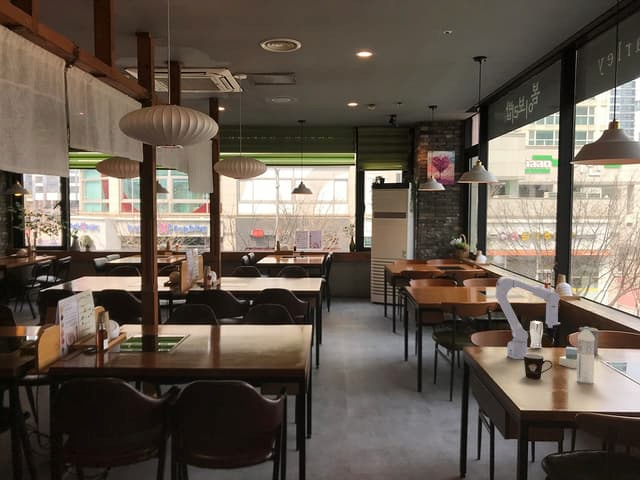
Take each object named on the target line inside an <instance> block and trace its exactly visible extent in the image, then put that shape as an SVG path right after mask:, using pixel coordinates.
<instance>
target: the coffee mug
mask: <svg viewBox="0 0 640 480" xmlns="http://www.w3.org/2000/svg"><path fill="white" fill-rule="evenodd" d="M523 360H524V361H523V362H524V363H523V364H524V371H525V372H524V373H525V378H527V379H529V380H536V381H537V380H541V378H542V375H543V373H545V372H547V371H549V370H551V369H552V368H553V362H552V361H551V360H548V359H547V360H544V356H543V355H542V354H541V355H540V354H537V353H536V354H534V353H527V354H525V355H524V359H523ZM547 362H548V363H550V366H549V368H546V369H544V370H543V365H544V364H545V363H547Z"/></svg>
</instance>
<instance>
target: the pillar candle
mask: <svg viewBox="0 0 640 480" xmlns="http://www.w3.org/2000/svg"><path fill="white" fill-rule="evenodd" d="M584 327H585V326H584ZM584 327H583V326H582V327H581V326H580V327H579V328H578V334H579V333H580V332H582V331H583V330H584ZM587 327H589V329H588V331H590V332H591V333H592V334H593V335H594V337H595V340H594V356H596V354H597V355H598V353H599V352H598V351H599V349H598V348H599V330H598V329H597V328H595V327H590V326H587Z"/></svg>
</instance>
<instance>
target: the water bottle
mask: <svg viewBox="0 0 640 480" xmlns="http://www.w3.org/2000/svg"><path fill="white" fill-rule="evenodd" d="M589 328H590V326H589V327H588V326H584V330H583V331H582V332H580V333H579V332H578V335H577V368H576V382H578V383H580V384H585V385H591V384H594V378H595V377H594V376H595V374H594V373H595V355H594V340H595V337H594V335H593V334H592V333H591V332H590V331H588V329H589Z"/></svg>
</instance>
